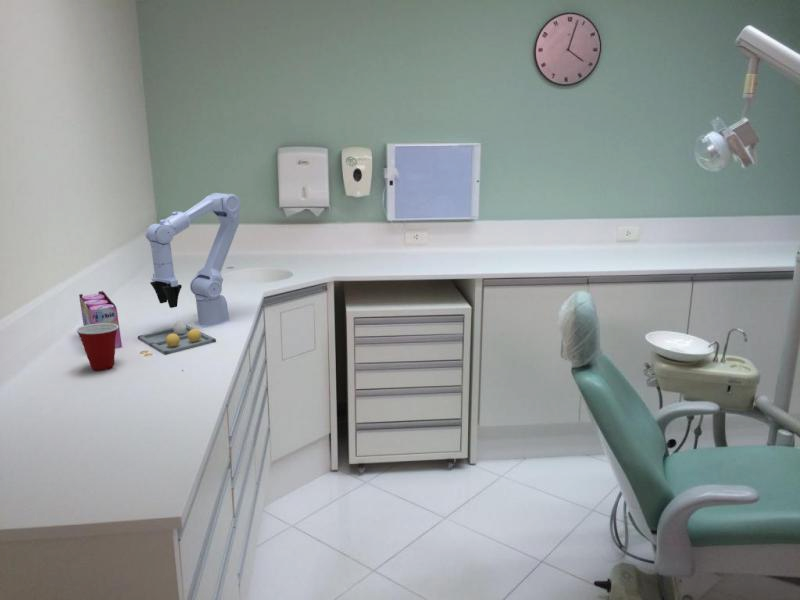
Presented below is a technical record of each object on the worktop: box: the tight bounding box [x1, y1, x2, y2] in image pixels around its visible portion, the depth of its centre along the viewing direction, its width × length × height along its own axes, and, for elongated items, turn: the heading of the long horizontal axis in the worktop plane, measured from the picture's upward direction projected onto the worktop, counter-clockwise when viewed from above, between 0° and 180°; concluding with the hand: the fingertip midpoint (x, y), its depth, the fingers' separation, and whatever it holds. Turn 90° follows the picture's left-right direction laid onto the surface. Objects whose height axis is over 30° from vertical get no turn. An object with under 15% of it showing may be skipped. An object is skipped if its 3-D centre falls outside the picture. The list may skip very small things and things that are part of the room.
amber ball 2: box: [187, 328, 201, 342], centre depth 209 cm, size 4×4×4 cm
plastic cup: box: [76, 323, 120, 372], centre depth 190 cm, size 11×11×12 cm
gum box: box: [78, 290, 123, 349], centre depth 213 cm, size 24×8×14 cm, turn 32°
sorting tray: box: [137, 324, 217, 356], centre depth 211 cm, size 16×21×1 cm
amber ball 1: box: [166, 334, 180, 347], centre depth 205 cm, size 4×4×4 cm
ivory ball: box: [172, 321, 187, 335], centre depth 216 cm, size 4×4×4 cm
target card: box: [139, 350, 154, 357], centre depth 200 cm, size 5×8×1 cm, turn 41°
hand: (168, 304), depth 216 cm, fingers open, 7 cm apart
